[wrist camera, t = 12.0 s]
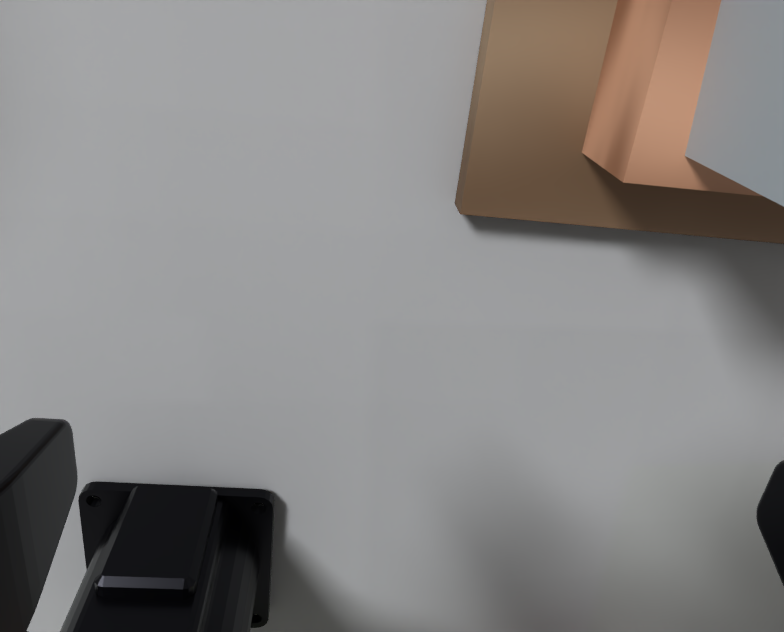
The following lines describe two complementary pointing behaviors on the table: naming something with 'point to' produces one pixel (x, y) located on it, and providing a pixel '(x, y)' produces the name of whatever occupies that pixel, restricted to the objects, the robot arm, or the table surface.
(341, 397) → the table surface
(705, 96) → the grey brick
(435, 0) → the table surface
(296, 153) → the table surface
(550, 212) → the tower base
